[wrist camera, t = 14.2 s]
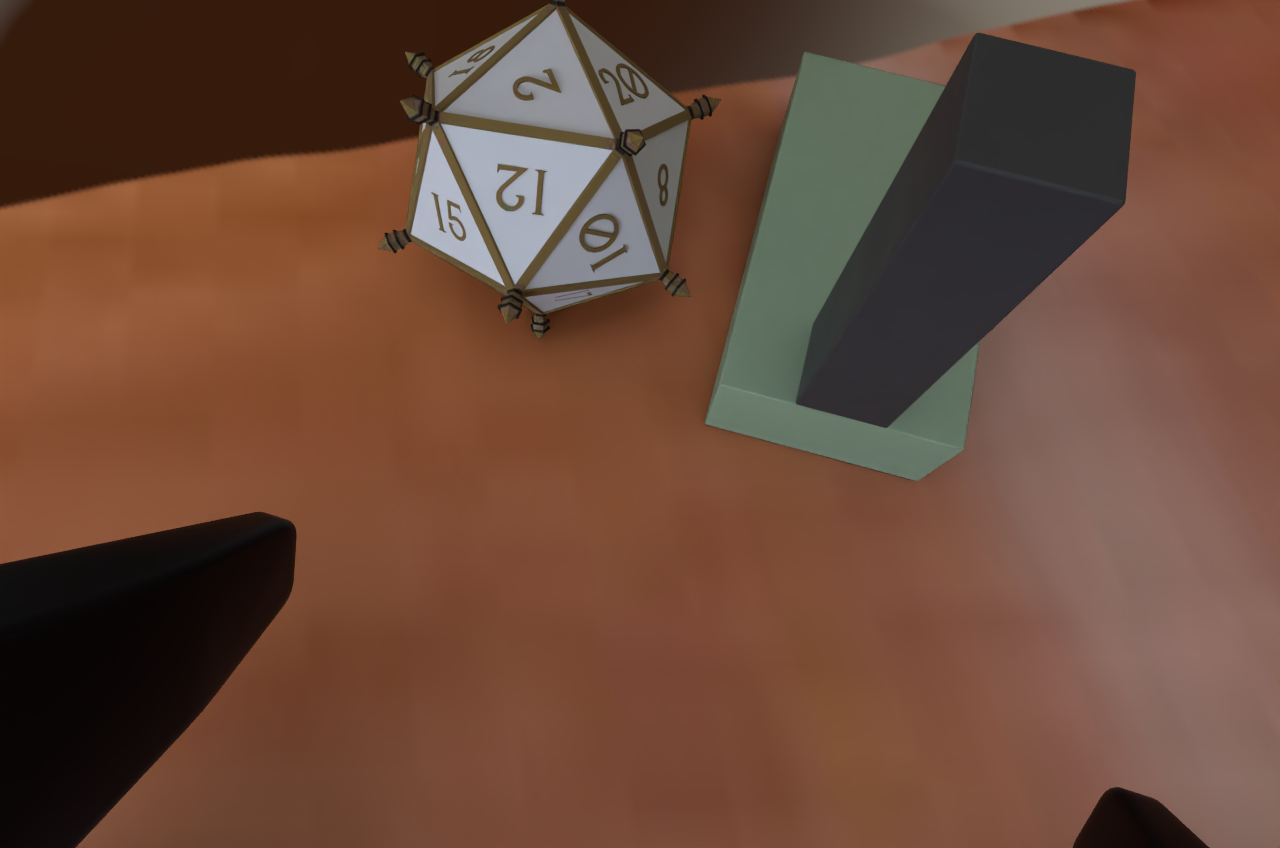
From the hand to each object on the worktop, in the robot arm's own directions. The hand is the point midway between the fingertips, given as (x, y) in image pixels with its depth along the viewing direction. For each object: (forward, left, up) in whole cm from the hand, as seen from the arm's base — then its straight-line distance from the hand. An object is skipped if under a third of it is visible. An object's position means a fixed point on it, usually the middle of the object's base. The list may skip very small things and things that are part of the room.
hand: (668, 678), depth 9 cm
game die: (+3, +13, -13) cm, 19 cm away
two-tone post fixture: (+11, +8, -13) cm, 19 cm away
